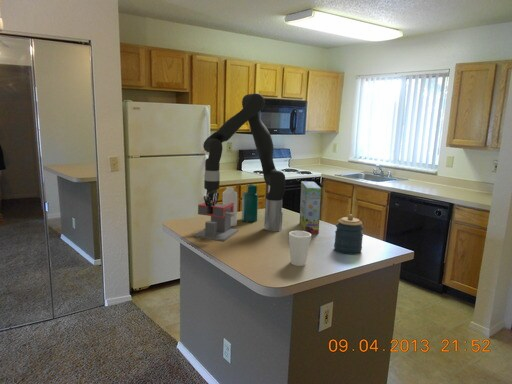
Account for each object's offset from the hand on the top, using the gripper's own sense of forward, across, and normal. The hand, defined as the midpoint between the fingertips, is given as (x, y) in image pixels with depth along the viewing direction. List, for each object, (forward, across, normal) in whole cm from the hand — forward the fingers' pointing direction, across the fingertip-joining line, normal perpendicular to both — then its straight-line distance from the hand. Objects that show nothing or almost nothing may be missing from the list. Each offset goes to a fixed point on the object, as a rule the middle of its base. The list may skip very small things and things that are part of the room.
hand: (211, 213), depth 191 cm
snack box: (+13, +40, -42) cm, 59 cm away
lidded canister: (+13, +11, -67) cm, 69 cm away
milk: (+13, +26, +1) cm, 29 cm away
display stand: (+13, +7, 0) cm, 14 cm away
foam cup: (+13, -16, -49) cm, 53 cm away
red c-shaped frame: (+1, +6, 0) cm, 6 cm away
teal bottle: (+13, +41, -6) cm, 43 cm away
